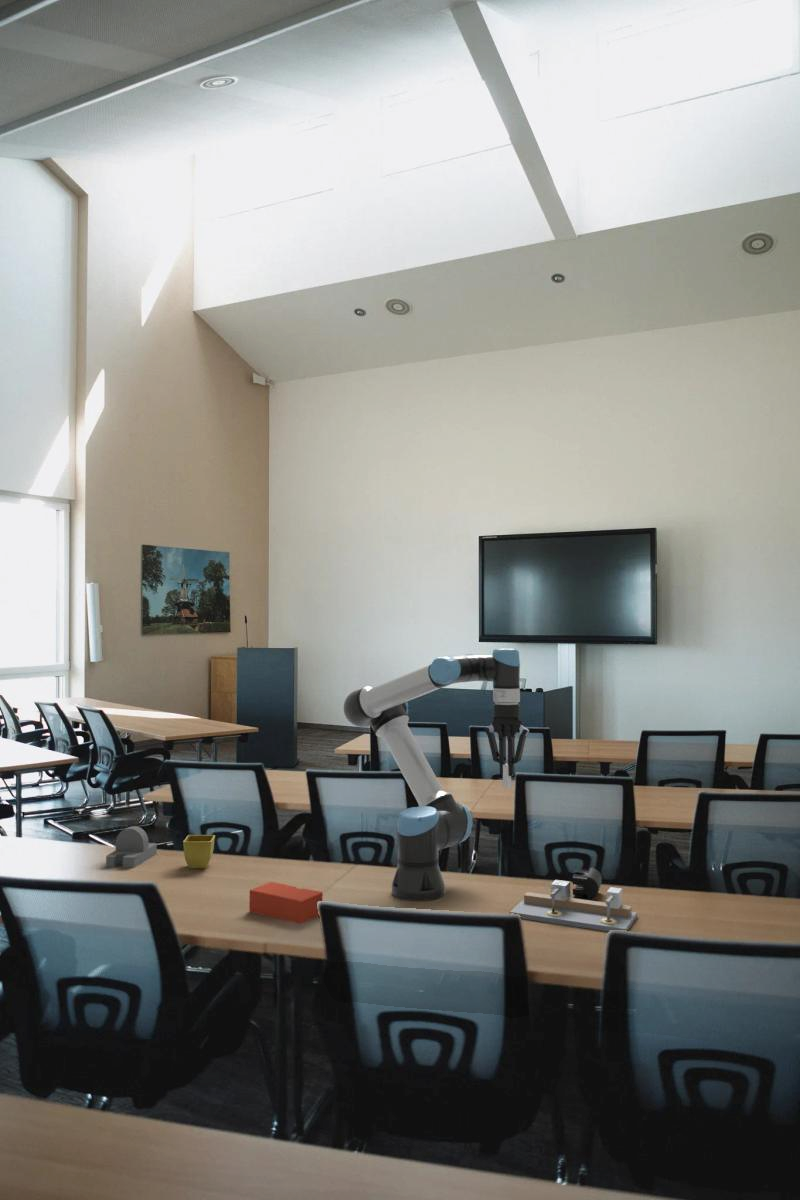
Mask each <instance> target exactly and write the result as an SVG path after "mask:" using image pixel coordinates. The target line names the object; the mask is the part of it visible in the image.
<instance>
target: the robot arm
mask: <svg viewBox="0 0 800 1200" xmlns="http://www.w3.org/2000/svg"><path fill="white" fill-rule="evenodd" d="M520 666H521V663H520V652H519V650H518V649H516V648H494V649H493V650H492V654H490V655H486V654H485V655H484V654H474V653H473V654H468V653H467V654H461V655H452V656H451V655H443V656H439V657H436V658H434V659H433V661H432V662H431V663H429V664H426V665H424V666H422V667H420V668H417V669H415V670H412V671H410V672H408V673H405V674H403V675H400V676H398V677H395V678H393V679H391V680H388V681H386V682H383V683H380V684H379V685H375V686H374V687H372V686H365V687H363V688H360V689H357V690H354V691H352V692H350V693H349V694H348V695H347V696H346V698H345V700H344V703H343V713H344V716H345V718H346V719H347V721H348V722H349V723H350V724H352V725H354V726H355V727H359V728H367V727H368V728H369V727H371V728H372V730H373V732H374V733H375V736H376V737H379V738H382V739H383V740H384V742H385V744H386V746H387V748H388V749H389V751H390V753H391V755H392V757H393V759H394V761H395V763H396V765H397V767H398V768H399V770H400V772H401V774H402V776H403V777H404V780H405V781H406V783H407V785H408V787H409V788H410V790H411V793H412V794H413V796H414V798H415V800H416V802H417V804H418V806H412V807H408V808H405V809H403V810H402V811H401V812H400V813H399V814H398V816H397V825H396V830H397V836H396V837H397V867H396V870H395V873H394V876H393V879H392V882H391V894H392V895H393V896H394V897H395V898H398V899H400V900H401V899H402V900H406V901H414V902H416V901H417V902H418V901H419V902H420V901H422V902H423V901H431V900H436V899H439V898H441V897H443V896H444V895H445V894H446V885H445V881H444V878H443V875H442V872H441V869H440V866H439V864H440V863H439V851H442V850H444V849H446V848H450V847H454V846H458V845H459V844H460V843H462V842H465V841H466V840H467V839H468V838H469V836H470V835H471V833H472V828H473V817H472V814H471V812H470V810H469V808H468V807H467V806H466V805H465V804H462V803H460V802H456V800H455V798H454V796H453V795H452V793H451V792H446V791H445V790H444V789H443V787H442V785H441V783H440V781H439V780H438V778H437V775H435V772H434V771H433V769H432V767H431V766H430V763H429V762H428V759H427V758H426V756H425V754H424V752H423V751H422V749H421V747H420V745H419V743H418V741H417V740H416V738H415V736H414V734H413V732H412V731H411V729H410V727H409V725H408V723H409V721H410V717H409V715H408V713H409V709H408V708H409V701H412V700H415V699H417V698H419V697H422V696H424V695H427V694H429V693H432V692H435V691H437V690H440V689H442V688H446V687H448V686H450V685H453V684H457V683H458V684H459V683H467V682H468V683H469V682H492V687H493V688H492V693H493V694H492V698H493V699H492V701H493V705H492V706H493V707H492V712H493V713H492V716H493V717H492V721H491V724H490V725H489V726H486V727H484V728H483V730H484V732H485V734H486V735H487V739H488V743H489V747H490V752H491V756H492V760H493V762H495V763H498V764H499V775H500V776H502V788H503V789H509V788H512V777H514V775H515V765H516V764H517V763H519V762H521V761H522V756H523V753H524V749H525V743H526V739H527V736H528V734H529V733H530V730H531V729H529V728H527V727H525V726H524V725H523V723H522V721H521V704H519V703H520V702H521V689H520V681H521V679H520V674H521V673H520V671H521V669H520V668H521V667H520ZM495 732H496V733H497V736H498V744H497V739H496V736H495ZM518 732H519V736H518V740H517V741H518V742H517V746H516V747H515V742H516V741H515V740H516V735H517V733H518ZM515 749H516V750H515Z"/></svg>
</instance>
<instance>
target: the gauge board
mask: <svg viewBox="0 0 800 1200" xmlns="http://www.w3.org/2000/svg"><path fill="white" fill-rule="evenodd" d="M510 913H514V914H519V915H520V916H521V918H520V919H524V920H530V921H535V922H536V921H537V922H542V923H551V924H556V925H562V926H563V925H565V926H571V927H577V928H582V929H583V928H584V929H588V930H589V929H591V930H596V931H597V930H598V931H603V932H604V931H605V932H609V930H628V931H629V930H630V928H631V927H632V926H633V923H634V922H635V921H636V919H637V917H638V912H637V911H632V906H631V905H627V904H626V905H625V904H623V888H620V887H611V886H610V887H609V888H608V889H607V891H606V900H605V901H595V900H583V899H575V898H573V897H569V899H568V900H567V901H560V900H555V912H552V899H551V897H550V894H545V893H538V892H537V893H536V892H530V891H527V892H525V893H524V894H523V899H522V900H521V901H520V902H519V903H517V905H515V906H514V907H513V908H512V909H511V910H510V911H509V914H510Z"/></svg>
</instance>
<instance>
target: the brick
mask: <svg viewBox="0 0 800 1200" xmlns="http://www.w3.org/2000/svg"><path fill="white" fill-rule="evenodd" d="M323 896H324V895H323V892H322V891H319V890H314V889H313V890H312V889H309V888H298V887H297V886H293V885H289V884H284V883H279V882H275V881H270V882H267V883H265V884H262V885H259V886H257V887H254V888H251V889H250V890H249V896H248V897H249V905H248V906H249V912H250V913H254V914H256V915H257V914H258V915H262V916H267V917H270V918H271V917H272V918H275V919H280V920H284V921H289V922H293V923H298V924H304V923H306V922H308V921H309V920H312V919H314V918H315V919H316V918H317V917H319V914H318V909H317V902H318V901H323Z"/></svg>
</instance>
